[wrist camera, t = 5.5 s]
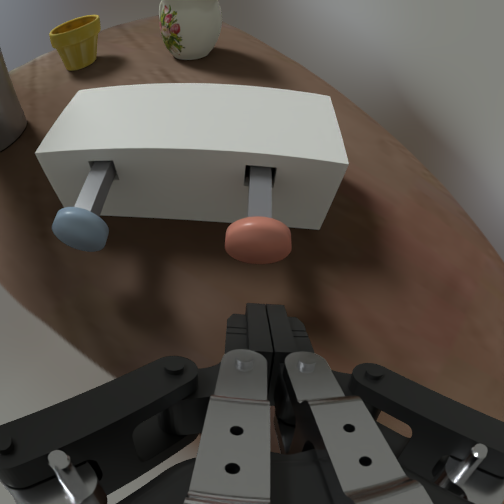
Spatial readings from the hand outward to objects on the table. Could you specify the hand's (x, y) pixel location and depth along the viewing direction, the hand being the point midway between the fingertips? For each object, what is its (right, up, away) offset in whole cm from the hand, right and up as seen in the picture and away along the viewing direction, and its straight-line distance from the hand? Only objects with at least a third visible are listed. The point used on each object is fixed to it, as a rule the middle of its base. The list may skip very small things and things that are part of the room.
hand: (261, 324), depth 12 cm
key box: (-7, +10, +19) cm, 23 cm away
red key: (0, +6, +12) cm, 13 cm away
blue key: (-13, +7, +11) cm, 19 cm away
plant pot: (-35, +41, +34) cm, 64 cm away
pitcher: (-12, +40, +36) cm, 56 cm away
